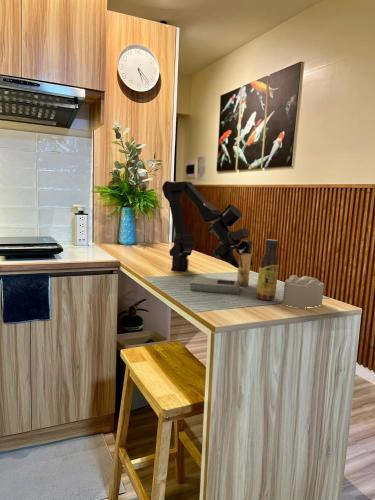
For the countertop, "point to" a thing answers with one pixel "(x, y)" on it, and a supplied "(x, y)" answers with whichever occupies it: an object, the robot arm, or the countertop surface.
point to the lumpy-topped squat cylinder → (303, 292)
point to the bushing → (244, 269)
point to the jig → (215, 285)
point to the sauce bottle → (268, 272)
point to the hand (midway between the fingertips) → (245, 266)
